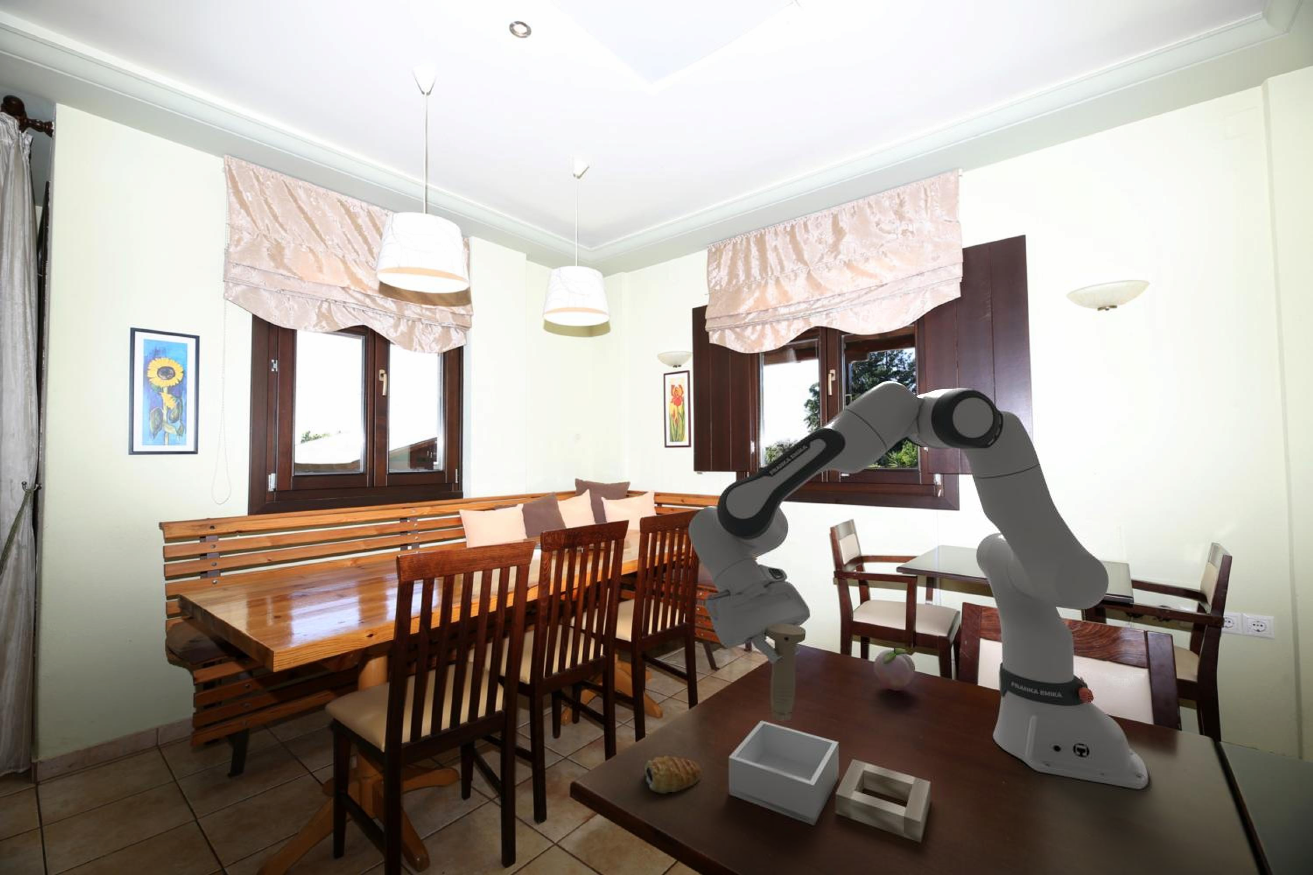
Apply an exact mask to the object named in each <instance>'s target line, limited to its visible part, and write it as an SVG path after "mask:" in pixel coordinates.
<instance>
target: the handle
mask: <svg viewBox="0 0 1313 875" xmlns="http://www.w3.org/2000/svg"><path fill="white" fill-rule="evenodd" d="M766 628H767V630H766V634H767V637H768V638H769V639H770V640H772V641H773V642H774V648H778V650H779V653H781V655H782V658H781V659H780V660H779V661H778V662H775V663H773V664H772V669H771V679H770V705H771V715H772V718H774V719H775V720H776V719H777V720H779V721H780V722H784V721H790V720H791V719H792V716H793V715H792V710H793V707H794V701H795V696H796V655H795V647H796V644H799V643H802V642H804V641H805V639H806V635H807V634H806V633H807V632H806V629H805V628H804V627H803V626H801V625H800V626H796V625H792V624H783V623H780V624H777V625H773V626H769V627H766Z"/></svg>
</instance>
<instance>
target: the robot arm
mask: <svg viewBox="0 0 1313 875" xmlns="http://www.w3.org/2000/svg"><path fill="white" fill-rule="evenodd" d="M901 440H905V441H907V442H908V443H910V444H912V445H914V446H916V447H920V448H929V449H933V450H934V449H935V450H949V449H960V450H961V451H962V453H963V454H964V456H965V457H966V459H967V461H968V465H969V469H970V473H971V477H972V480H973V483H974V486H975V488H976V492H977V495H978V498H979V502H980V505H981V509H982V511H983V513H984V515H985V517H986V518H987V519H988V520H989V521H990V522H991V523H992V524H993V525H994V527H996V528H997V530H998V532H996V533H992V534H988V535H987V536H985V537H984V538H982V540H981V541H980V543H979V544H978V546H977V549H976V556H975V557H976V562H977V563H976V564H977V565H978V568H979V569H980V571H981V572H982V574H984V576H985V578H986V580H987V582H988V583H989V584H988V585H989V586H990V589H991V592H992V595H993V598H994V603H995V605H996V608H997V612H998V617H999V621H1000V629H1001V630H1000V633H1001V653H1002V654H1001V656H1002V658H1001V663H1000V664H999V670H998V685H999V692H1000V695H1001V696H1000V697H1001V698H1000V706H999V712H998V718H997V722H996V725H995V728H994V731H993V733H992V738H993V739H994V741H995V743H996V744H998V746H1000V747H1001V748H1002V749H1003V750H1004V751H1006V752H1007V753H1009V754H1011V755H1013V756H1015V757H1017V758H1018V759H1020V760H1021V761H1023V762H1024V763H1026V764H1027V765H1028V766H1029V767H1030V768H1031V769H1033V770H1035V771H1036V772H1040V773H1044V774H1046V773H1047V774H1052V775H1055V776H1056V775H1057V776H1061V777H1062V776H1063V777H1067V778H1073V779H1080V780H1085V781H1090V782H1096V783H1100V784H1101V783H1103V784H1108V785H1113V786H1119V787H1125V788H1128V789H1129V788H1130V789H1136V790H1141V789H1143V788H1145V787H1146V786H1147V785H1148V783H1149V774H1148V769H1147V766H1146V764H1145V763H1144V761H1143V759H1142V758H1141V757H1140V756H1139V755H1138V754H1137V752H1135V751H1134V750H1132V749H1131V748H1130V746H1129V742H1128V739H1127V737H1126V734H1125V732H1124V730H1123V729H1122V728H1121V726H1120V725H1119V724H1118V723H1117V721H1116V720H1114V718H1112V717H1110V716H1109V715H1108V714H1107V713H1105V712H1104V711H1103V710H1101V709H1100V708H1099V707H1098V706H1097V705H1096V704H1094V703H1093V701H1094V699H1095V697H1094V694H1093V691H1092V690H1091V689H1090V688H1089V685H1088V684H1087V682H1085V680H1084V678H1083V677H1082V676H1080V678H1079V677H1078V676H1077V675H1075V674H1074V673H1075V672H1074V671H1075V670H1074V666H1075V664H1074V662H1075V660H1074V659H1075V658H1074V637H1073V636H1074V635H1073V634H1072V631H1071V629H1070V627H1069V626H1068V624H1066V622H1065V621H1064V620H1063V618H1062V616H1061V615H1060V613H1059V611H1058V608H1057V607H1059V608H1065V609H1073V610H1074V609H1075V610H1087V609H1090V608H1093V607H1095V606H1096V605H1098V604H1099V603H1100V602H1101V601H1102V600H1103V599H1104V598H1105V596H1106V595H1107V591H1108V590H1109V583H1110V582H1109V574H1108V571H1107V568H1106V567H1105V565H1104V564H1103V563H1102V562H1101V561H1100V560H1099V559H1098V558H1097V557H1096V556H1094V554H1092V553H1091V552H1090V551H1088V550H1087V549H1086V548H1085V546H1083V544H1082V543H1081V542H1080V541H1079V540H1078V538H1077V537H1076V536H1075V535H1074V533H1073V532H1072V530H1071V529H1070V527H1069V525H1068V524H1067V523H1066V521H1065V519H1063V517H1062V515H1061V514H1060V512H1059V511H1058V509H1057V507H1056V505H1055V503H1054V501H1053V497H1052V495H1051V492H1050V490H1049V488H1048V484H1047V481H1046V479H1045V475H1044V472H1043V469H1042V466H1041V464H1040V460H1039V458H1038V454H1037V451H1036V449H1035V446H1034V444H1033V442H1032V440H1031V438H1030V434H1029V433H1028V432H1027V430H1026V428H1025V426H1024V424H1023V422H1022V421H1021V419H1020V418H1019V417H1018V416H1017V415H1016V414H1015V413H1012V412H1010V411H1007V410H1006V411H1005V410H999V409H998V408H997V406H996V405H995V403H994V402H993V400H992V399H990V398H989V396H987V395H986V394H985V393H983V392H981V391H979V390H976V389H973V388H967V387H956V388H944V389H943V388H941V389H937V390H932V391H930V392H927V393H919V394H914V393H913V391H911V389H909V388H908V387H907V386H905V385H904V384H902V383H900V382H896V381H890V380H889V381H883V382H881V383H879V384H877V385H875V386H873V387H872V388H870V389H868V390H867V391H865V392H864V393H862V394H861V395H859V396H857V398H855V399H854V400H853V401H851V402H850V403H849V404H848V405H847V406H845V407H844V408H843V409H842V410H841V411H840V412H838V414H836V415H835V416H834V417H833V418H832V419H830V420H829V421H828V422H826V423H825V425H823V426H821V427H820V428H818V429H816V430H815V431H813V432H811V433H809V434H808V435H806V436H805V437H804V438H802V439H800V440H799V441H798V442H797V443H795V444H794V445H792V446H791V447H790V448H788V449H787V450H786V451H784V452H783V453H781V455H780V456H778V457H776V458H775V459H774V460H773V461H772V462H770V463H769V464H767V465H766V466H765V467H764V468H762V469H760V470H759V471H757V472H756V473H754V474H751V475H749V476H746V477H744V478H741V479H738V480H736V481H734V482H732V483H731V484H729V485H728V486H726V488H725V489H724V490H723V491H722V492H721V495H720V496H719V498H718V502H717V506H715V505H709V506H705V507H704V508H702V509H701V510H699V511H698V512H697V513H696V514H695V515H694V516H693V517H692V519H691V521H690V522H689V526H688V536H689V540H690V542H691V545H692V547H693V549H694V551H695V553H696V556H697V557H698V559H699V561H700V562H701V564H702V566H703V567H704V569H706V570H707V571H708V572H709V574H710V576H711V580H712V583H713V586H714V587H715V588H716V590H717V591H718V592H717V593H710V594H707V596H706V598H705V599H704V608H705V610H706V611H707V613H708V615H709V618H710V621H711V624H712V626H713V629H714V632H715V634H716V636H717V638H718V641H719V642H720V644H721V645H722V646H723V647H724V648H726V649H728V650H730V649H732V648H737V647H738V646H739V647H740V646H742V645H745V644H749V643H752V645H753V646H754V648H755V649H757V650H758V651H760V653H762V654H763V655H765V656H766V658H767V660H768V661H769V663H770V664H772V665H773V663H775V662H778V661H779V660H780V659H781V658H782V655H781V653H779V650H778V648H775V647H773V646H772V645H771V644H770V643H768V642H767V637H768V636H767V634H766V630H767V628H766V627H769V626H773V625H777V624H780V623H783V624H792V625H796V626H800V627H801V626H802V625H803V624H804V623H805V622H806V621H808V620H809V619H810V617H811V611H810V610H811V609H810V608H809V606H808V604H807V603H806V601H805V600H804V598H803V597H802V595H801V594H800V592H799V591H798V590H797V588H796V587H795V586H794V585H793V584H792V583H791V582H789V581H786V580H787V579H788V575H787V573H786V572H785V570H783V569H782V568H778V567H772V566H767V565H765V564H761V563H760V564H758V562H757V560H756V558H757V557H760V556H763V555H766V554H768V553H769V552H772V551H773V550H776V549H778V548H779V547H780V546H781V545H783V542H785V540H786V538H787V536H788V532H789V523H788V518H787V517H786V515H785V514H784V512H783V510H782V509H781V504H782V503H783V502H784V500H786V498H788V497H789V496H791V495H792V494H793V493H795V492H796V491H797V490H799V489H800V488H801V487H802V486H803V485H804V484H806V483H807V482H809V480H811V479H812V478H814V477H816V475H818V474H820V473H823V472H825V471H837V472H839V473H843V474H857V473H860V472H862V471H863V470H865V469H867V468H869V467H870V466H871V465H873V464H874V463H876V462H877V461H878V460H880V458H882V457H883V456H884V455H885V454H886V453H888V451H890V449H892V448H893V447H894V446H895V445H896V444H897V443H898V442H899V441H901ZM801 650H802V648H801V647H800V645H799V643H797V644H796V647H795V656H796V655H799V653H800V652H802V651H801Z"/></svg>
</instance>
